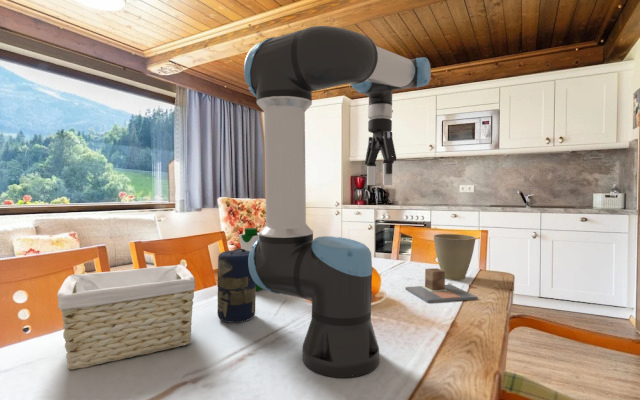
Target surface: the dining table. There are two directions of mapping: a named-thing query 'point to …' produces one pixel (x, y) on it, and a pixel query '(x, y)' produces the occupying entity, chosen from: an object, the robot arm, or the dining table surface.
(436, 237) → the plant pot
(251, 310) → the canister
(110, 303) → the storage basket
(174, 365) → the dining table surface
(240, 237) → the milk carton
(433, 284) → the brown wooden block
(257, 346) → the dining table surface
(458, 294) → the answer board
